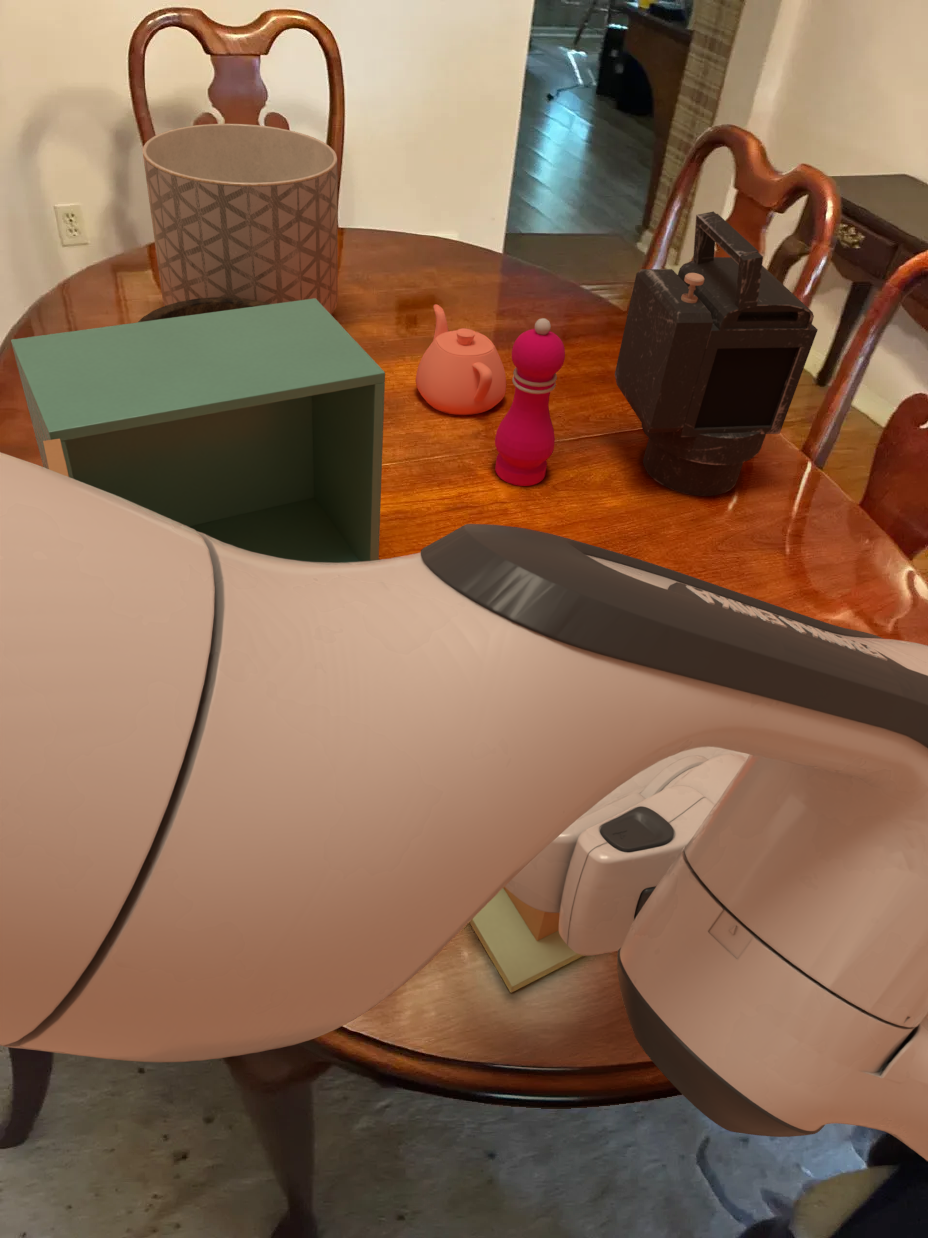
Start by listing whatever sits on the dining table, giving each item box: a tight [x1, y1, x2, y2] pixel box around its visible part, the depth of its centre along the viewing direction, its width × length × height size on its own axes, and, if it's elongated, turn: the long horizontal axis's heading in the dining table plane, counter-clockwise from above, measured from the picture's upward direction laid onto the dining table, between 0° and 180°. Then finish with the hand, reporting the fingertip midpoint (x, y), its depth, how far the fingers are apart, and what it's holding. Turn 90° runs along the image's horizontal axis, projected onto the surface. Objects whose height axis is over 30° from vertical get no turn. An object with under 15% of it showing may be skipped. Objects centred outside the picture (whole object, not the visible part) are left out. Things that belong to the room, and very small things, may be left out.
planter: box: [142, 123, 339, 315], centre depth 130 cm, size 25×25×24 cm
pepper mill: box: [494, 317, 566, 487], centre depth 108 cm, size 7×7×20 cm
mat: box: [468, 888, 585, 994], centre depth 71 cm, size 11×11×1 cm
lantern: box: [614, 211, 819, 497], centre depth 109 cm, size 15×18×30 cm
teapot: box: [415, 304, 507, 416], centre depth 125 cm, size 12×18×10 cm
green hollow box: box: [10, 298, 386, 563], centre depth 88 cm, size 16×28×24 cm, turn 119°
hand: (544, 698), depth 55 cm, fingers open, 8 cm apart
